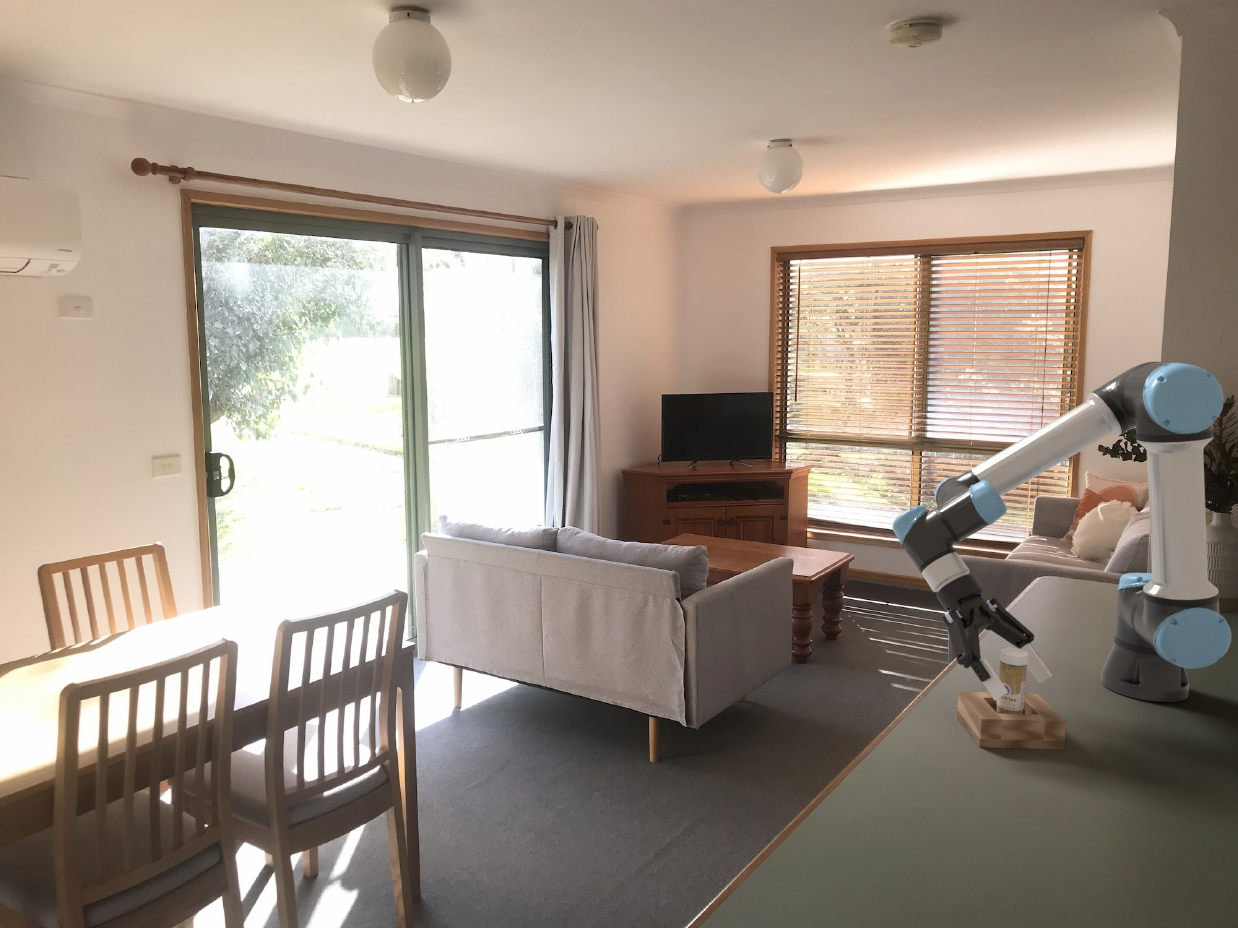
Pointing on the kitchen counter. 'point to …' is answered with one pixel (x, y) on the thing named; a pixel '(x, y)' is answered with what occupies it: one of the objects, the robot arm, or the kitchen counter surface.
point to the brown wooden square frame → (1011, 723)
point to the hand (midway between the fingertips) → (1024, 688)
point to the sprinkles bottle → (1012, 680)
